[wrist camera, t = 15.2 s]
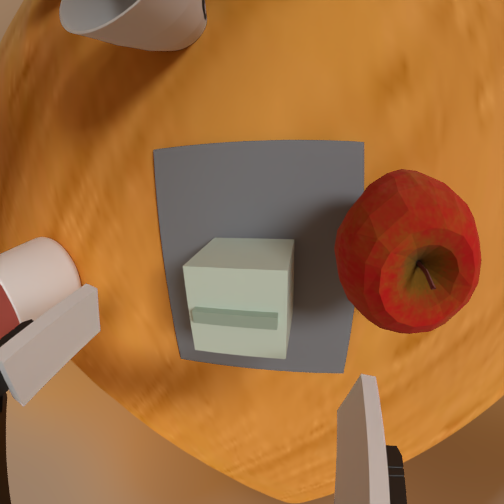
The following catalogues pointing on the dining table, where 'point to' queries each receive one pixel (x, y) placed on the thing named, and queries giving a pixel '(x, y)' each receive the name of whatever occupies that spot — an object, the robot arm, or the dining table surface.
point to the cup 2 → (137, 22)
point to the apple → (408, 253)
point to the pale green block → (241, 296)
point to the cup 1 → (34, 281)
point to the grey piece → (265, 232)
